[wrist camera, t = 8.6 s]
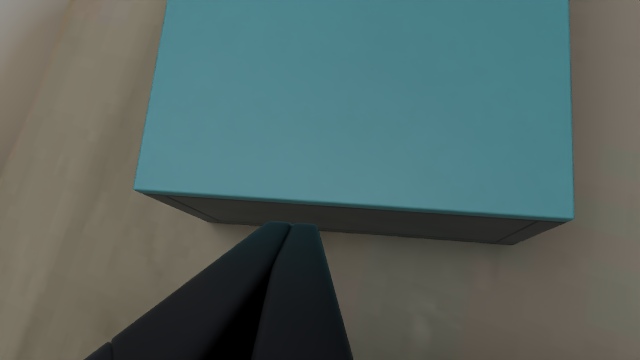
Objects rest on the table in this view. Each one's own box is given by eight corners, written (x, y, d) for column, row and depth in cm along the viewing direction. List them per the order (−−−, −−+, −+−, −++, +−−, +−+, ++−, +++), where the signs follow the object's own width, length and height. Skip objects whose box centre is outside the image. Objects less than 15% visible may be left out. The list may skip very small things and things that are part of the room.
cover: (202, -155, 20) (197, -168, 19) (558, -170, 18) (564, -186, 17) (141, 193, 16) (131, 189, 16) (567, 222, 14) (575, 219, 14)
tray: (244, -33, 26) (200, -136, 19) (513, -34, 24) (558, -150, 17) (207, 221, 22) (141, 194, 16) (513, 245, 20) (567, 222, 14)
